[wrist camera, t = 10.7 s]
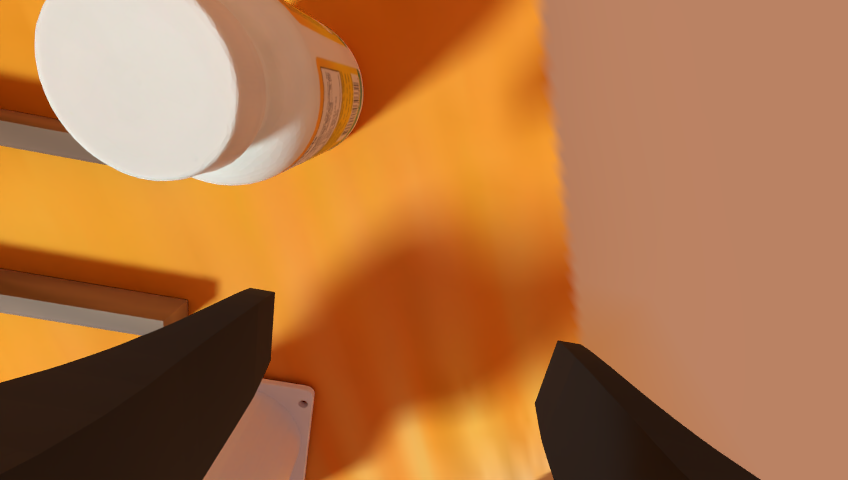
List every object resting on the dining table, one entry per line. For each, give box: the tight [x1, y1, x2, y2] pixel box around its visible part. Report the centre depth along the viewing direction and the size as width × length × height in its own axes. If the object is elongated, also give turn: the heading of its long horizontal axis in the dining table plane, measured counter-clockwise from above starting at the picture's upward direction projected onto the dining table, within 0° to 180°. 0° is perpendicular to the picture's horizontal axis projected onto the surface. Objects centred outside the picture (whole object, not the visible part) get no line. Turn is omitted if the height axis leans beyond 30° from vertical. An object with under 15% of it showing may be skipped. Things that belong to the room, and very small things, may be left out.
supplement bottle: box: [35, 0, 363, 185], centre depth 12 cm, size 5×5×10 cm
